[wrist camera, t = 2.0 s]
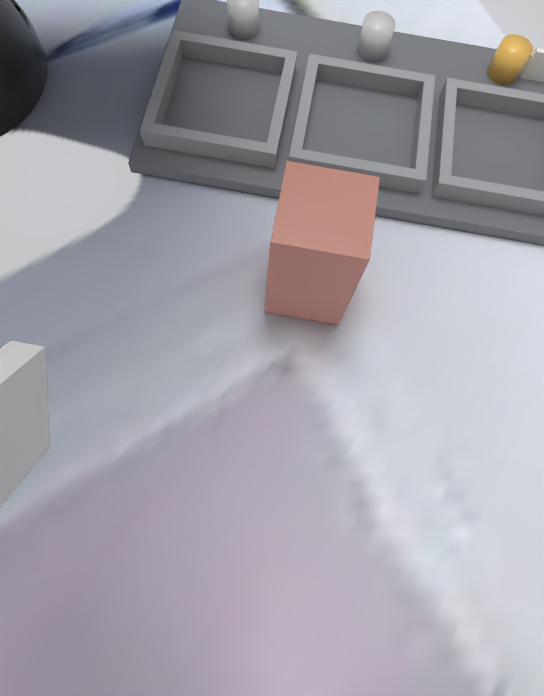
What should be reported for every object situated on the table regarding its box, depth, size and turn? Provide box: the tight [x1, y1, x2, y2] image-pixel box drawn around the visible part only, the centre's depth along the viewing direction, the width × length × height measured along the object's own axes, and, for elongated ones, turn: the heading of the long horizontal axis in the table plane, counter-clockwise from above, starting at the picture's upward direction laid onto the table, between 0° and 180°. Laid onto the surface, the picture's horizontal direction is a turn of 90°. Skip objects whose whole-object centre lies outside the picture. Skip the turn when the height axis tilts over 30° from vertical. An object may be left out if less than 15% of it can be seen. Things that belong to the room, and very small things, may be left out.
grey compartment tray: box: [129, 0, 544, 245], centre depth 37 cm, size 32×17×3 cm, turn 80°
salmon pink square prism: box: [265, 161, 380, 325], centre depth 30 cm, size 5×5×9 cm
